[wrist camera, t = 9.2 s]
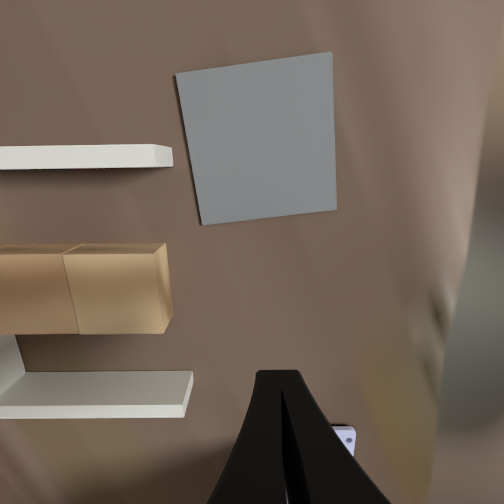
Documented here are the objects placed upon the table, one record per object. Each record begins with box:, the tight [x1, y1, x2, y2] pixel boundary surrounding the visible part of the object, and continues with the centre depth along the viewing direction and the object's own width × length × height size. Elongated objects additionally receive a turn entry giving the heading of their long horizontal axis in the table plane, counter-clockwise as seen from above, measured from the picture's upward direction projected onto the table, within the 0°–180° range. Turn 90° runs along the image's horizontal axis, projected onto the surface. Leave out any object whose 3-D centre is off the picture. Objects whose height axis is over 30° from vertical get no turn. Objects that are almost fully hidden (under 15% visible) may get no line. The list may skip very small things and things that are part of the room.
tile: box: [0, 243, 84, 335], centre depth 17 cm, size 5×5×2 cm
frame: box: [0, 144, 193, 419], centre depth 17 cm, size 16×13×3 cm
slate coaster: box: [176, 51, 337, 225], centre depth 16 cm, size 8×8×1 cm
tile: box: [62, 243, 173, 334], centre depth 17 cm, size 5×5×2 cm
